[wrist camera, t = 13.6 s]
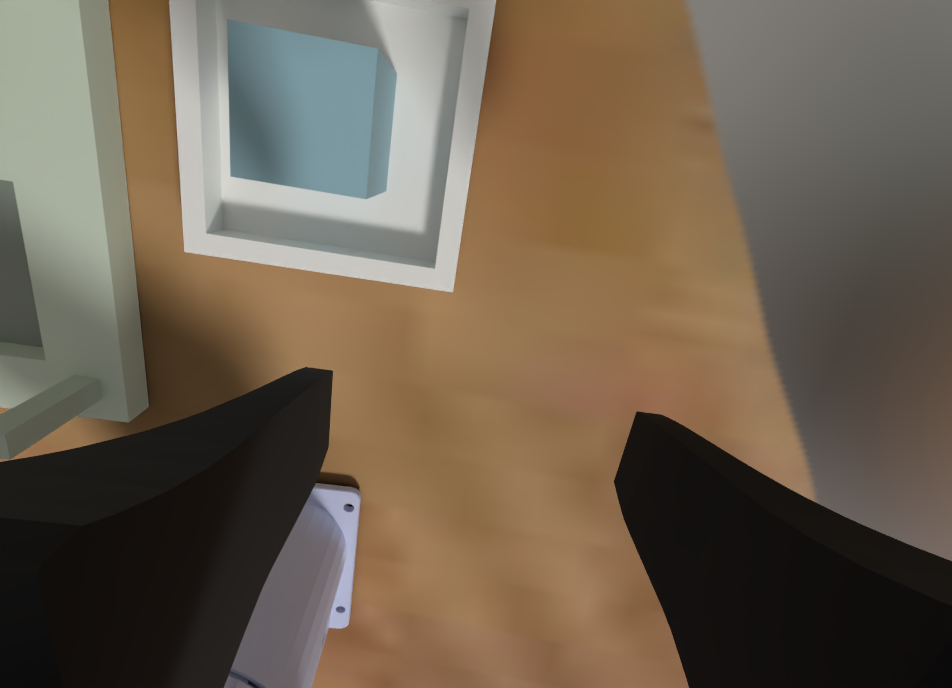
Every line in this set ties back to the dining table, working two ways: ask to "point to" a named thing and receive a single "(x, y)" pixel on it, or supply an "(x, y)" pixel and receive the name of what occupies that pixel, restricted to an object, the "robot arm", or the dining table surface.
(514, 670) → the dining table surface
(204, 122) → the dish
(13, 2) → the puzzle board
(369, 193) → the block
